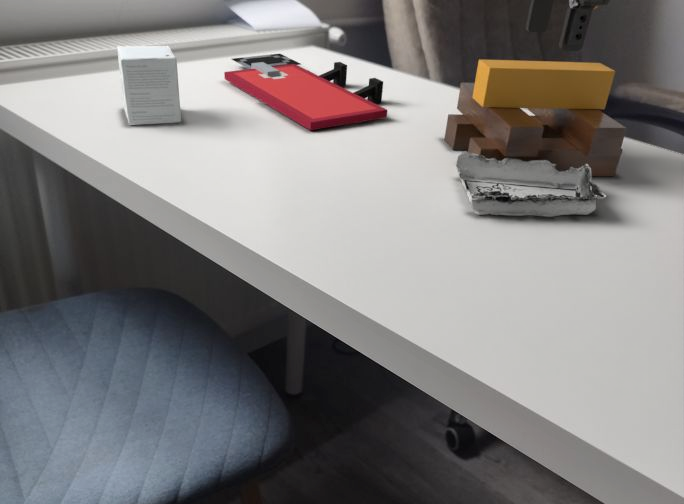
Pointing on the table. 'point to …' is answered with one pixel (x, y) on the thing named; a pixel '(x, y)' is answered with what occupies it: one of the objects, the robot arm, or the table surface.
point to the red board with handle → (307, 91)
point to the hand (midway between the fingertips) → (551, 40)
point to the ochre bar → (542, 84)
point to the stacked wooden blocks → (537, 134)
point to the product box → (149, 84)
